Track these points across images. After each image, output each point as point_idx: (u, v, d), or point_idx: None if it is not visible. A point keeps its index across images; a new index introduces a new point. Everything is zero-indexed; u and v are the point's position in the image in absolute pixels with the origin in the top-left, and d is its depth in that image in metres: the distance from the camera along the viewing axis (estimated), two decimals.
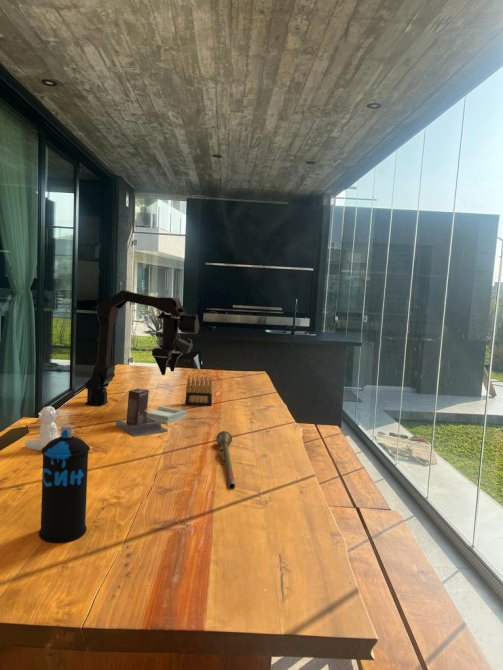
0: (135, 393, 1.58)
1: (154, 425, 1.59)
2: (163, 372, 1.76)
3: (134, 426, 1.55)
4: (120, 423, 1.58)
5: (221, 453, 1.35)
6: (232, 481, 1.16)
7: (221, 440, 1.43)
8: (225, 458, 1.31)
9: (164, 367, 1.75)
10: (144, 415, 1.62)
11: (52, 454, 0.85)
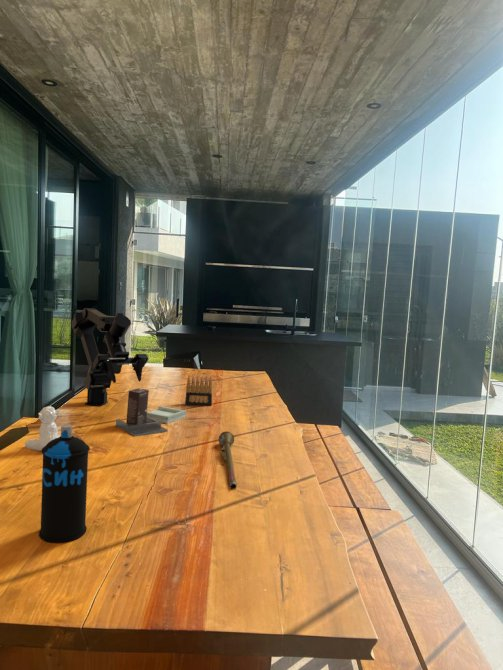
0: (135, 393, 1.58)
1: (154, 425, 1.59)
2: None
3: (134, 426, 1.55)
4: (120, 423, 1.58)
5: (223, 453, 1.35)
6: (233, 481, 1.16)
7: (223, 440, 1.43)
8: (227, 458, 1.31)
9: None
10: (144, 415, 1.62)
11: (52, 454, 0.85)
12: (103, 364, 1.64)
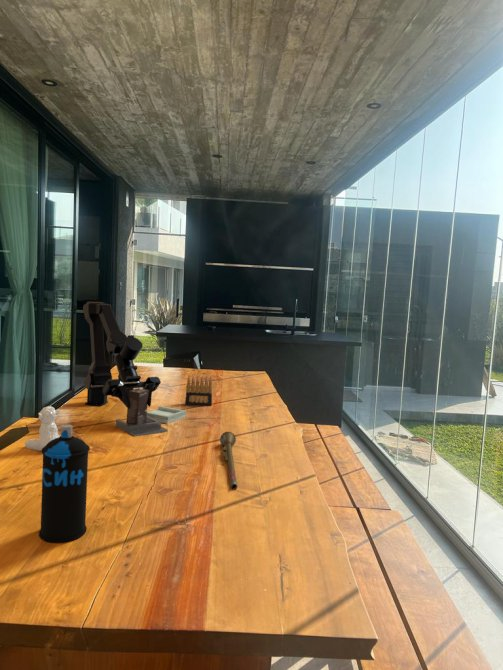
0: (135, 393, 1.58)
1: (154, 425, 1.59)
2: None
3: (134, 426, 1.55)
4: (120, 423, 1.58)
5: (224, 453, 1.34)
6: (234, 482, 1.16)
7: (224, 441, 1.43)
8: (228, 458, 1.30)
9: None
10: (144, 415, 1.62)
11: (52, 454, 0.85)
12: (117, 389, 1.58)
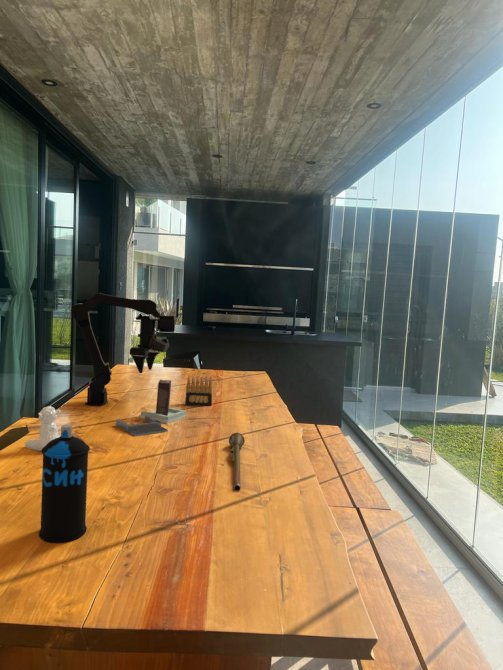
0: (165, 384, 1.71)
1: (154, 425, 1.59)
2: (140, 370, 1.86)
3: (134, 426, 1.55)
4: (120, 423, 1.58)
5: (231, 455, 1.34)
6: (238, 483, 1.15)
7: (233, 442, 1.42)
8: (234, 460, 1.30)
9: (141, 365, 1.86)
10: None
11: (52, 454, 0.85)
12: None
